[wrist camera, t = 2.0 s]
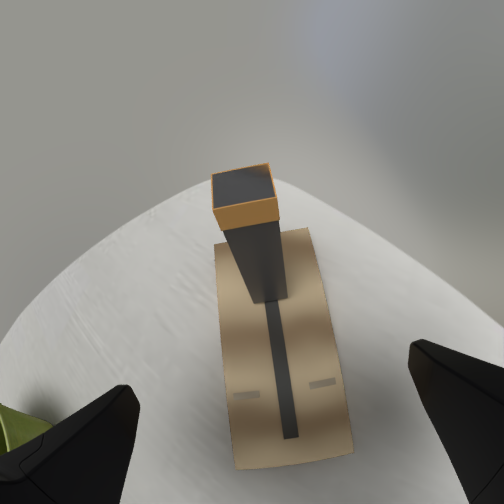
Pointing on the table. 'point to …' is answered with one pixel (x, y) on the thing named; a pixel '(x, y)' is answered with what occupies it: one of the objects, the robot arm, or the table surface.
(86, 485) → the robot arm
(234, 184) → the fader tab
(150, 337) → the table surface
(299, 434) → the fader track
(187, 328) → the table surface
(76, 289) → the table surface
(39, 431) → the plant pot
